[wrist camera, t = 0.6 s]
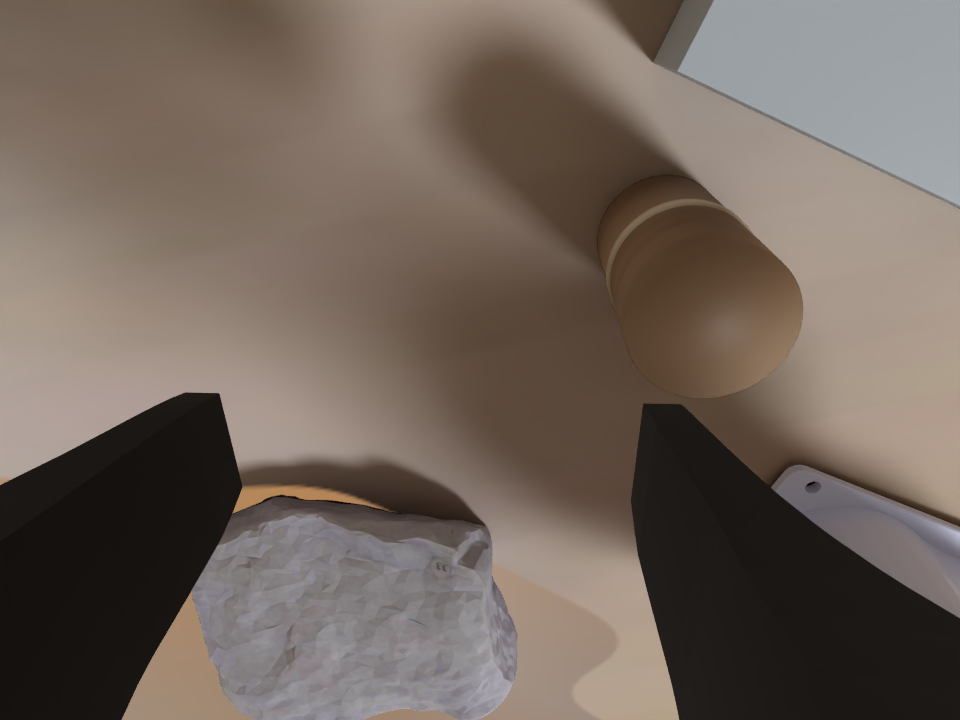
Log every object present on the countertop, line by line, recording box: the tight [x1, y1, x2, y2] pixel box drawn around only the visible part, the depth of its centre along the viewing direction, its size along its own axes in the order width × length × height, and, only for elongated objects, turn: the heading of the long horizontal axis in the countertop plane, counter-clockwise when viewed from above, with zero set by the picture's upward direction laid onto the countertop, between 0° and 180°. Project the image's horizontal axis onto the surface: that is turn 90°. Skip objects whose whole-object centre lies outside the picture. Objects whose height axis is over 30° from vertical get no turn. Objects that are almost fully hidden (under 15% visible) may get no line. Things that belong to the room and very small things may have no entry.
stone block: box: [192, 495, 517, 720], centre depth 25 cm, size 12×5×10 cm
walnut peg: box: [597, 175, 803, 398], centre depth 16 cm, size 4×4×6 cm
